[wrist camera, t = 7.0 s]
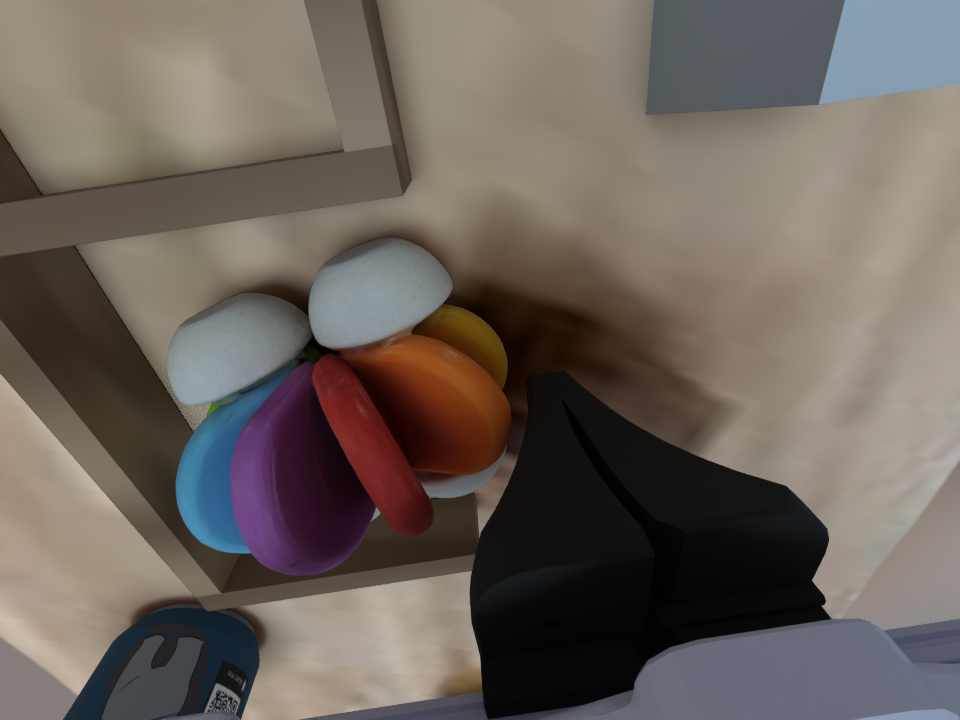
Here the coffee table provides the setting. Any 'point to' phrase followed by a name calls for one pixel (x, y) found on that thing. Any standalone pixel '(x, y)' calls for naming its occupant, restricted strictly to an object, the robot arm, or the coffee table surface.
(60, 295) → the frame
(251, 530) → the rainbow petal rattle
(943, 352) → the coffee table surface
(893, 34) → the block
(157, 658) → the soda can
